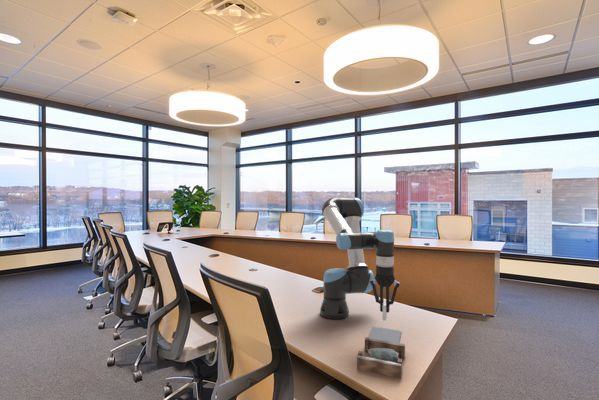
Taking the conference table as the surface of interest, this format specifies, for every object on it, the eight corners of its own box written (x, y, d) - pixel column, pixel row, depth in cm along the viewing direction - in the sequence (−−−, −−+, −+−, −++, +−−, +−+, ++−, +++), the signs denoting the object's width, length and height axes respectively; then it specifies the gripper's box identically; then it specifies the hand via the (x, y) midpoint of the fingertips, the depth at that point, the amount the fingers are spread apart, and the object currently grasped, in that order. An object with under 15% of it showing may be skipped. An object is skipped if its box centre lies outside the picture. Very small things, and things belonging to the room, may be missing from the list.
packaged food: (366, 355, 119) (367, 342, 119) (398, 358, 118) (399, 345, 118) (369, 368, 111) (370, 354, 111) (403, 371, 109) (404, 357, 109)
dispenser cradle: (357, 369, 110) (357, 355, 110) (366, 347, 127) (366, 335, 127) (401, 379, 105) (401, 364, 105) (405, 355, 121) (405, 342, 121)
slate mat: (366, 341, 132) (366, 340, 132) (372, 327, 147) (372, 326, 147) (398, 347, 127) (398, 346, 127) (401, 332, 142) (401, 331, 142)
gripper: (368, 265, 136) (368, 320, 135) (399, 268, 131) (399, 324, 130) (371, 262, 143) (371, 314, 142) (401, 265, 137) (401, 318, 137)
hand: (384, 319), depth 136 cm, fingers closed
